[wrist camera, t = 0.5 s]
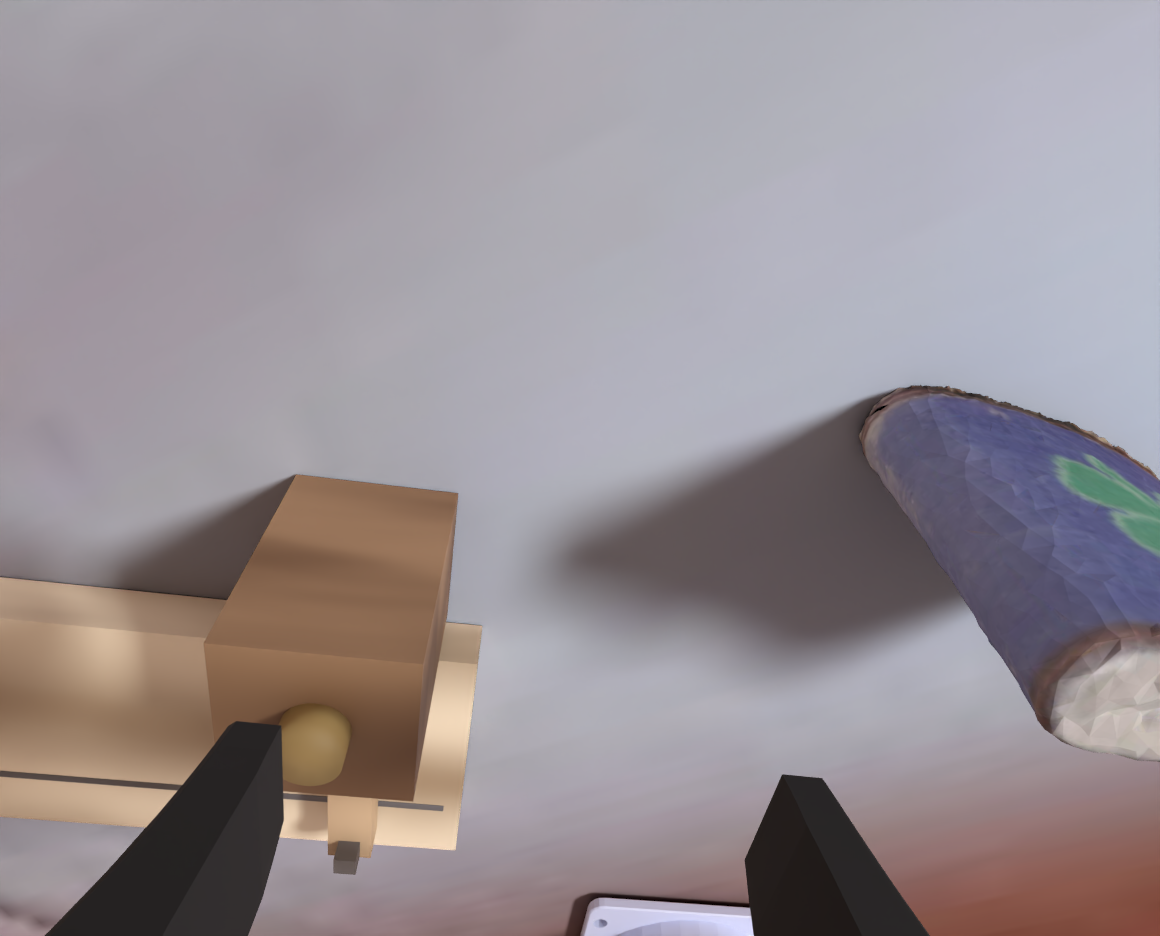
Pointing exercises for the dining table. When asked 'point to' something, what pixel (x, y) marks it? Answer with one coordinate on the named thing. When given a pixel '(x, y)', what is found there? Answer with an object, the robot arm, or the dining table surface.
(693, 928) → the robot arm
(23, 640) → the board
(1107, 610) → the flask
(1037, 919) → the dining table surface
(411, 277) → the dining table surface
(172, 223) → the dining table surface
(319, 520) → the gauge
